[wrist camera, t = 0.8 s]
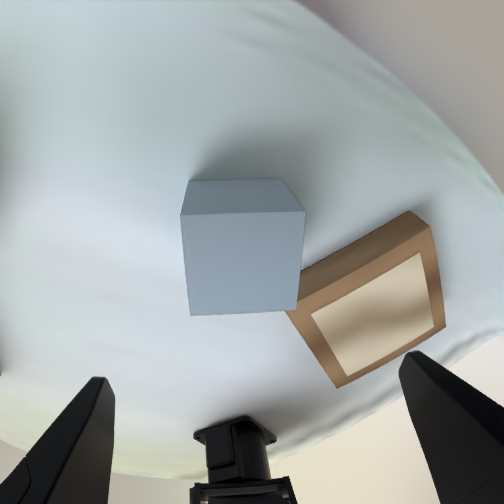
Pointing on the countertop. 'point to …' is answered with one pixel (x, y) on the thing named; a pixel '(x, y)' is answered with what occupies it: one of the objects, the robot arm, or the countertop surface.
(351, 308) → the base
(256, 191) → the block
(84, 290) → the countertop surface
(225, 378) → the countertop surface
